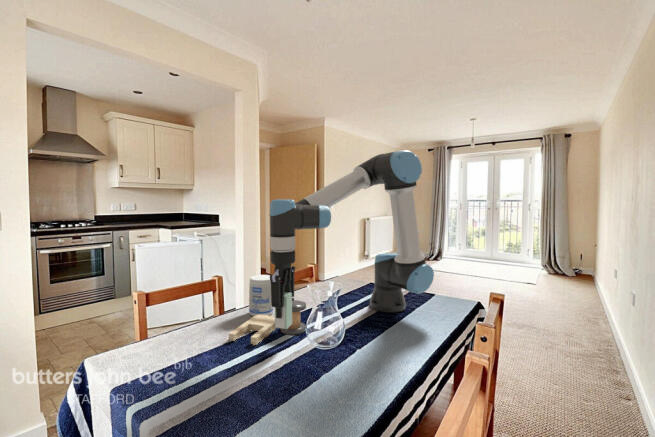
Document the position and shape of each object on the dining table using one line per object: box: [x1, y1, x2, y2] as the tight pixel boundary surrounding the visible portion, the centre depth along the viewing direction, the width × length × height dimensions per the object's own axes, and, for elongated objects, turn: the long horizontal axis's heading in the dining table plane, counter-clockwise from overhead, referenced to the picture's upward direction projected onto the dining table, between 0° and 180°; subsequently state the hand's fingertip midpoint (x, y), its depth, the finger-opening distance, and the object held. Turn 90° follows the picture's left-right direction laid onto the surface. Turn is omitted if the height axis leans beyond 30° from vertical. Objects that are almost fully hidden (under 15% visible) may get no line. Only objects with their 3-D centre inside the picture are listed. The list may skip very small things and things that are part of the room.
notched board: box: [228, 314, 277, 346], centre depth 109 cm, size 18×10×2 cm, turn 163°
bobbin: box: [279, 299, 307, 336], centre depth 111 cm, size 9×9×9 cm
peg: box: [274, 292, 293, 329], centre depth 98 cm, size 4×4×10 cm
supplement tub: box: [248, 274, 274, 317], centre depth 126 cm, size 10×10×15 cm
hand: (283, 324), depth 98 cm, fingers closed on peg, 4 cm apart
